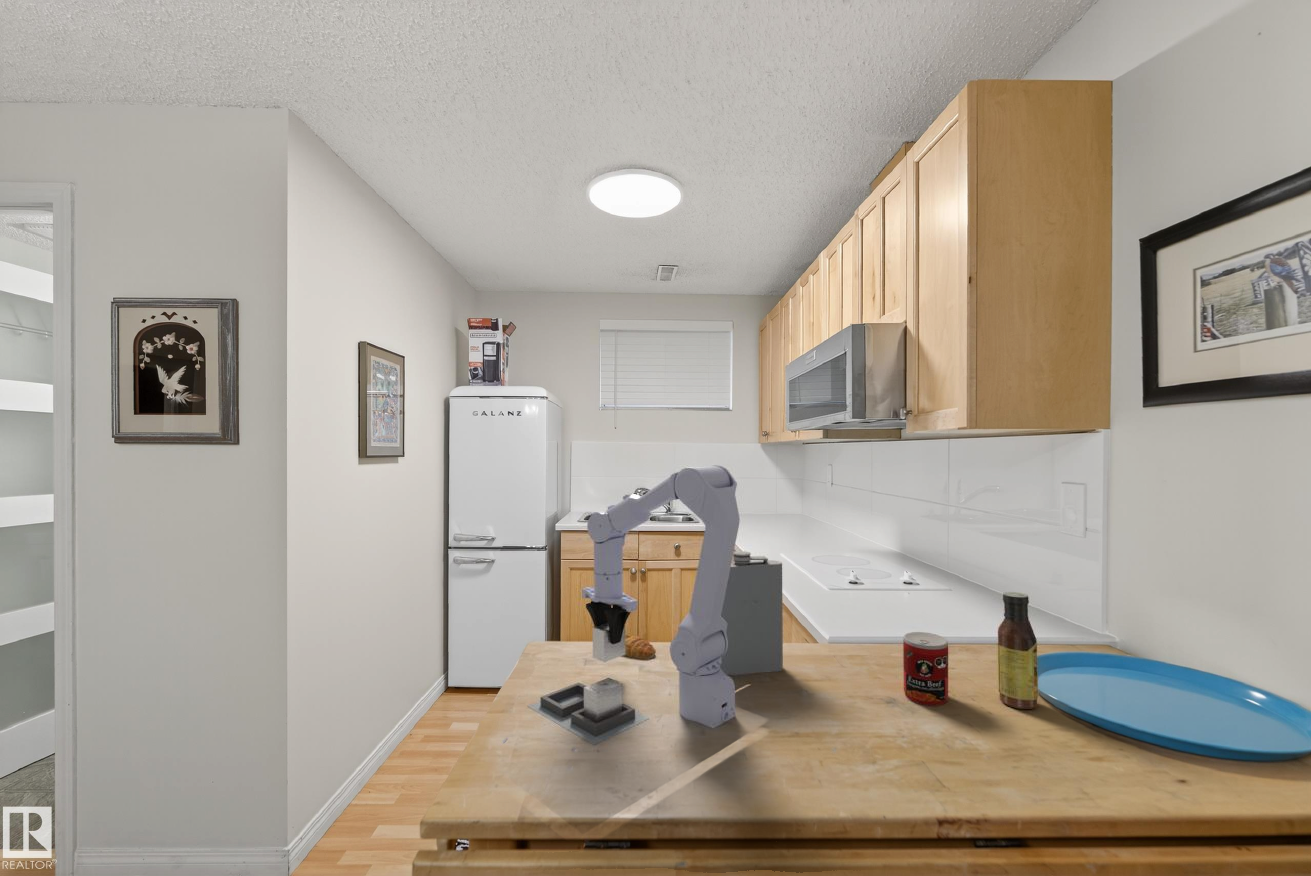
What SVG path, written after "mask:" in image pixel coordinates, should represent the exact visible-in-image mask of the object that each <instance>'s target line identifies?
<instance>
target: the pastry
mask: <svg viewBox="0 0 1311 876" xmlns="http://www.w3.org/2000/svg"><path fill="white" fill-rule="evenodd" d="M655 655H656V649H655V648H654V645H653V644H651V643H650V642H649V641H647V640H646V639H645V637H640V636H639V635H635V636H633V635H632V634H625V655H623V656H624V657H627V658H628V657H629V658H634V659H639V660H650V659H653V658H654V657H656V656H655Z"/></svg>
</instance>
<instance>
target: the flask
mask: <svg viewBox="0 0 1311 876" xmlns="http://www.w3.org/2000/svg"><path fill="white" fill-rule="evenodd" d="M732 560H733V561H732V563H731V568H730V573H729V578H728V583H727V588H726V593H725V598H724V602H723V607H722V612H721V617H722V618H723V619H724V620H725V621H726V622H727V629H726V635H727V639H728V648H727V651H726V653H725V654H724V655H723V656H722V657H721V661H722V663H721V664H720V668H721V670H722V671H723V672H724V673H725V674H726V675H727V676H730V675H731V676H733V677H735V676H740V675H741V676H742V675H743V676H744V675H748V674H756V673H757V674H758V673H773V672H774V671H775V672H781V671H782V670H784V669H783V668H784V662H783V659H784V658H783V657H784V654H783V653H784V651H783V644H784V642H783V640H784V638H783V636H784V634H783V631H784V630H783V625H784V624H783V562H782V561H779V560H769V558H768V557H766V556H765V555H764V556H762V555H761V556H760V555H756V556H755V555H751V552H750V551H745V550H744V551H742V550H736V551H734V553H733V558H732ZM772 671H773V672H772Z"/></svg>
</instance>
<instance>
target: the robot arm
mask: <svg viewBox="0 0 1311 876" xmlns="http://www.w3.org/2000/svg"><path fill="white" fill-rule="evenodd" d="M737 487H738V483H737V481H736V480H735V478H734V477H733V475H732V474H731V473H730V470H729V469H727V468H726V467H724V466H722V465H720V464H719V465H718V464H716V465H711V466H701V467H692V466H691V467H689V466H688V467H684V468H682V469H681V470H680V471H676V472H674V473H672V474H670V476H669V477H668V478H666V479H665V480H662V482H660V483H659V484H657V485H656V486H655V487H653V488H651V489H650V490H649V491H647V492H646V493H644V494H643V495H639V494H636V493H634V494H632V493H628V494H625V495H624V496H622V499H623V500H621V501H619V502H618V503H616V504H611V505H609V506H607V510H606V511H604V512H602V511H597V512H593V514H592V515H590V517H589V518H588V520H587V525H586V527H587V528H586V529H587V533H588V535H589V537H590V539H591V540H592V541H593V587H592V586H588V587H584V588H582V589H581V593H582V595H581V597H582V598H583V599H589V600H590V602H588V603H585V608H586V610H587V612H588V613H589V615H590V618H591V620H592V624H593V627H595V626H598V625H602V624H605V623H608V625H609V635H610V642H611V644H616V643H619V642H621V638H622V633H623V630H624V626H625V627H626V623H627V620H628V618H629V616H630V615H631V613H632V612H635V611H638V599H635V598H633V597H631V596H630V595H627V594H626V593H624V576H623V575H624V573H623V571H624V570H623V569H624V568H623V567H624V565H623V564H624V562H623V561H624V560H623V559H624V556H623V555H624V554H623V553H624V551H623V549H624V547H625V546H624V545H625V544H626V542H625V540H626V537H627V536H628V533H629V532H630V531H632V530H633V529H635V528H637V527H639V526H641V525H643V524H644V523H646V522H648V521H649V519H650V518H651V512H653V511H654V510H656V509H659V508H660V507H662V506H664V505H666V504H669V503H671V502H673V501H674V500H675V501H676V500H679V501H681V502H682V504H683V505H684V506H685V507H687V508H688V509H689V510H690V512H692V513H693V514H694V515H695V516H696V517H697V518H698V519H700V520H701V522H702V523H703V524H704V526H705V527H704V534H703V539H702V543H701V550H700V554H699V559H698V560H699V561H698V565H697V568H696V569H697V570H696V575H695V581H694V586H693V592H692V597H691V600H690V607H689V611H688V613H687V614H686V616H685V617H684V619H682V621H681V623H680V624H679V625H678V630H677V633H676V635H675V637H673V638H672V640H671V642H670V645H669V654H670V657H671V658H670V659H671V660H672V662H673V665H674V666H675V667H676V670H677V671H678V690H679V691H678V705H679V706H678V709H679V710H678V711H679V714H680V716H681V717H683V718H684V719H686V720H687V721H688V720H689V721H693V722H696V723H700V724H702V725H705V726H707V727H709V728H711V729H715V728H717V727H719V726H720V725H722V724H724V723H725V722H728V721H729V720H731V719H733V718H735V717H736V685H735V682H734V680H733V679H732V677H731V676H730V675H726V674H725V673H724V672H723V671H722V670H721V668H720V664H721V663H722V661H721V657H722V656H723V655H724V654H725V653H726V651H727V648H728V639H727V635H726V629H727V622H726V621H725V620H724V619H723V618H722V617H721V612H722V607H723V602H724V598H725V593H726V588H727V583H728V578H729V573H730V568H731V563H732V562H733V556H734V555H733V553H734V552H735V546H736V542H737V537H738V532H739V528H740V527H739V526H740V521H741V520H740V513H739V508H738V507H739V506H738V503H737V496H736V490H737Z"/></svg>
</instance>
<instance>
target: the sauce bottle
mask: <svg viewBox="0 0 1311 876" xmlns="http://www.w3.org/2000/svg"><path fill="white" fill-rule="evenodd" d="M1002 601H1003V603H1004V606H1003V607H1004V609H1003V610H1004V613H1003V616H1004V618H1003V620H1002V622H1001V623H1000V624H999V626H998V629H997V645H996V646H997V649H996V650H997V681H998V682H997V683H998V684H997V685H998V686H997V687H998V688H997V689H998V693H999V699H1000V701H1001V703H1003V704H1004V705H1007V706H1008V707H1011V708H1015V709H1021V710H1032V709H1035V708H1036V707H1037V706H1038V698H1039V684H1038V683H1039V682H1038V681H1039V679H1038V678H1039V676H1038V675H1039V674H1038V669H1039V668H1038V641H1037V638H1036V634H1035V632H1034V629H1033V627H1032V624H1031V622H1030V619H1029V607H1028V606H1029V603H1030V601H1029V595H1028V594H1025V593H1021V592H1014V591H1006V592H1003V593H1002Z"/></svg>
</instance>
